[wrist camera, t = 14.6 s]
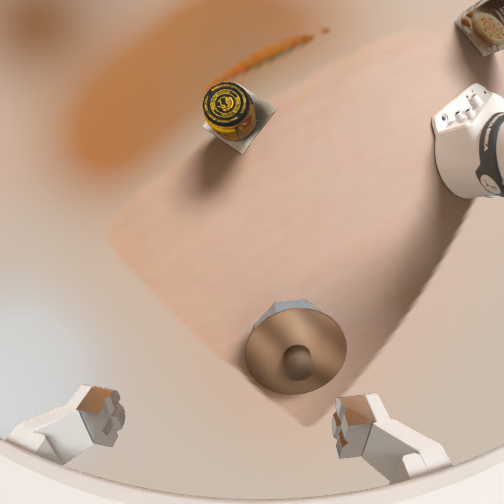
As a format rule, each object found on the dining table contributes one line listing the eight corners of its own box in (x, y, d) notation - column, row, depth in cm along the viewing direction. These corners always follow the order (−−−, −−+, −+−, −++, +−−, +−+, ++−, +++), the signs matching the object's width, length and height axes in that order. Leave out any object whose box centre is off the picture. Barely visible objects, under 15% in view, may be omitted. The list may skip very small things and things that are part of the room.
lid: (292, 287, 42) (295, 299, 37) (364, 343, 44) (373, 358, 39) (225, 359, 45) (222, 375, 40) (298, 404, 47) (301, 421, 42)
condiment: (202, 127, 43) (182, 111, 31) (236, 83, 41) (228, 53, 29) (242, 154, 44) (236, 146, 32) (276, 109, 42) (282, 86, 30)
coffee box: (452, 22, 35) (498, -9, 20) (464, 10, 34) (507, -19, 19) (483, 58, 37) (535, 37, 21) (493, 45, 35) (541, 24, 20)
